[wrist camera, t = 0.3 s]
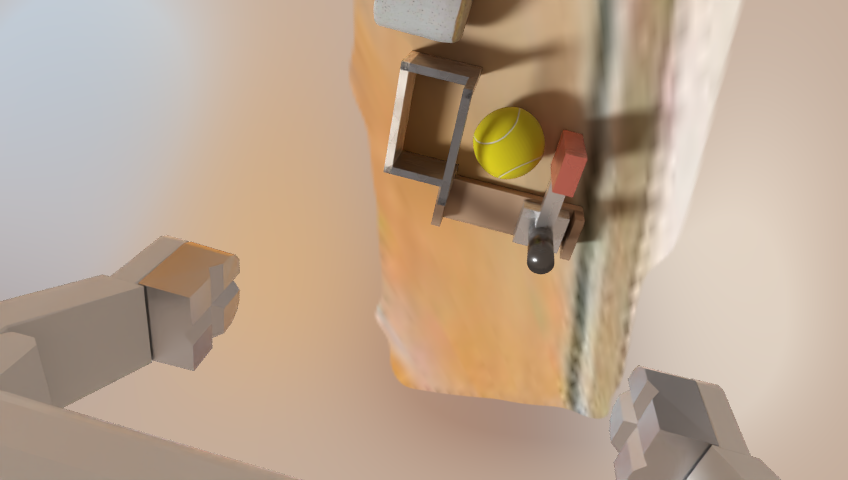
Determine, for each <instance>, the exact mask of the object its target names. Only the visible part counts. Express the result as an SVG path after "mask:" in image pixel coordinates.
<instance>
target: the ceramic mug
mask: <svg viewBox="0 0 848 480" xmlns="http://www.w3.org/2000/svg"><path fill="white" fill-rule="evenodd" d="M472 1H473V0H375V2H374V20H375V22H376V24H378V25H379V26H383V27H387V28H391V29H394V30H398V31H401V32H405V33H409V34H413V35H417V36H421V37H424V38H428V39H431V40H434V41H438V42H446V43H455V42H457V41H459V40H460V39H461V37H462V35H463V32H464V28H465V25H466V22H467V18H468V15H469V12H470V8H471V5H472Z"/></svg>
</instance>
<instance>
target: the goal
mask: <svg viewBox="0 0 848 480" xmlns="http://www.w3.org/2000/svg"><path fill="white" fill-rule="evenodd" d="M481 71H482V67H479V66H474V65H470V64H466V63H462V62H458V61H454V60H450V59H445V58H441V57H437V56H433V55H429V54H425V53H421V52H417V51H412V52H411V53H409V54H408V55H407V56H406V57H405V58H404V59H403V60H402V62H401V68H400V75H399V81H398V87H397V93H396V99H395V105H394V112H393V118H392V124H391V130H390V136H389V142H388V149H387V155H386V161H385V167H384V172H386V173H389V174H393V175H397V176H401V177H405V178H409V179H413V180H417V181H421V182H424V183H428V184H432V185H436V186H440V187H441V190H440V194H439V198H438V203H437V204H438V205H442V206H445V205H446V202H447V199H448V196H449V193H450V190H451V187H452V185H453V182H454V179H455V176H456V173H457V170H458V165H459V164H456V160H457V156H458V152H459V148H460V144H461V139H462V135H463V131H464V127H465V123H466V119H467V114H468V110H469V106H470V102H471V98H472V95H473V92H474V90H475V88H476V85H477V83H478V80H479V78H480V75H481ZM416 73H417V74H421V75H425V76H429V77H433V78H437V79H442V80H446V81H450V82H454V83H458V84H462V85H465V87H464V90H463V94H462V98H461V103H460V107H459V111H458V116H457V120H456V124H455V129H454V133H453V137H452V142H451V146H450V151H449V155H448V159H447V161H444V160H440V159H436V158H432V157H428V156H424V155H420V154H416V153H412V152H408V151H404V150H403V146H404V140H405V134H406V129H407V123H408V118H409V112H410V107H411V101H412V95H413V90H414V84H415V79H416Z"/></svg>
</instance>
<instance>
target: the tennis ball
mask: <svg viewBox="0 0 848 480" xmlns="http://www.w3.org/2000/svg"><path fill="white" fill-rule="evenodd" d="M473 147H474V152H475V156H476V158H477V160H478V162H479V163H480V165H481V166H482V167H483V169H484V170H485V171H487V172H488V173H489V174H491V175H492V176H494V177H497V178H500V179H513V178H517V177H520V176H523V175H525V174H526V173H528V172H530V171H531V170H532V169H533V168H534V167H535V166H536V165H537V164H538V163H539V161H540V160H541V158H542V156H543V153H544V148H545V139H544V134H543V131H542V128H541V126H540V124H539V122H538V121H537V120H536V119H535V117H534V116H533V115H531V114H530V113H529V112H527V111H526V110H524V109H522V108H518V107H505V108H501V109H498V110H496V111H493V112H492V113H490V114H489V115H487V116H486V117H485V118H484V119H483V120H482V121H481V122H480V124H479V125H478V127H477V128H476V130H475V132H474V137H473Z"/></svg>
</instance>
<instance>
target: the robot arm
mask: <svg viewBox="0 0 848 480" xmlns="http://www.w3.org/2000/svg"><path fill="white" fill-rule="evenodd" d="M239 272H240V267H239V258H238V257H237V256H236V255H234V254H231V253H227V252H224V251H221V250H217V249H214V248H211V247H207V246H204V245H200V244H197V243H194V242H189V241H186V240H182V239H179V238H176V237H172V236H169V235H167V236H161V237H159V238H158V239H157V240H155V241H154V242H153V243H152V244H150V245H149V246H148V247H147V248H145V249H144V250H143V251H142V252H140V253H139V254H138V255H137V256H136V257H134V258H133V259H131V260H130V261H129V262H128V263H126V264H125V265H124V266H123V267H121V268H120V269H119V270H117V271H116V272H115V273H114V274H113V275H111V276H110V277H109V276H106V275H99V276H95V277H91V278H87V279H84V280H80V281H76V282H72V283H68V284H64V285H61V286H57V287H53V288H49V289H45V290H42V291H38V292H34V293H30V294H26V295H22V296H19V297H15V298H11V299H7V300H3V301H0V480H302V479H299V478H295V477H292V476H288V475H285V474H282V473H279V472H275V471H271V470H269V469H265V468H262V467H258V466H255V465H252V464H248V463H245V462H242V461H238V460H235V459H231V458H228V457H225V456H222V455H218V454H215V453H211V452H208V451H205V450H201V449H198V448H194V447H191V446H188V445H184V444H181V443H178V442H174V441H171V440H167V439H164V438H161V437H158V436H154V435H151V434H147V433H144V432H141V431H137V430H134V429H131V428H127V427H124V426H121V425H117V424H114V423H111V422H107V421H104V420H101V419H97V418H94V417H90V416H87V415H83V414H80V413H77V412H74V411H70V410H67V409H64V407H65V406H68V405H69V404H71V403H73V402H75V401H77V400H79V399H81V398H83V397H85V396H87V395H89V394H91V393H93V392H95V391H97V390H99V389H101V388H103V387H105V386H107V385H109V384H111V383H113V382H115V381H117V380H118V379H120V378H122V377H124V376H126V375H128V374H130V373H132V372H134V371H136V370H138V369H140V368H142V367H144V366H146V365H148V364H150V363H152V360H153V361H157V362H161V363H165V364H169V365H173V366H177V367H181V368H184V369H188V370H192V371H194V370H195V369H196V368H197V366H198V365H199V364H200V363H201V361H202V360H203V359H204V358H205V356H206V355H207V354H208V353H209V351H210V350H211V349H212V338H213V337H216V336H218V335H220V334H223V333H224V332H225V331H226V330H227V328H228V327H229V326H230V324H231V323H232V321H233V319H234V316H235V314H236V312H237V309H238V304H239V292H240V290H239V289H238V287H237V285H236V284H235V282H234V281H233V280H234V278H235V277H236V276H237V275H238V274H239ZM628 382H629V387H630V390H629V391H627V392H625V393H623V394H620V395H619V396H618V398H617V400H616V403H615V404H614V406H613V409H612V413H611V418H610V430H609V432H610V440H611V443H612V445H613V446H614V447H615V448H616V450H617V451H618V452H619V454H618V456H617V458H616V459H615V461H614V467H615V474H616V480H781V479H780V478H779V477H778V476H777V475H776V474H775V473H774V472H773V471H772V470H771V469H770V468H769V467H767V465H766V464H764V462H763V461H762V460H760V459H759V458H756V457H753V456H751V455H750V453H749V450H748V448H747V446H746V443H745V441H744V438H743V436H742V434H741V432H740V429H739V426H738V424H737V422H736V419H735V417H734V415H733V412H732V410H731V407H730V405H729V402H728V400H727V398H726V395H725V393H724V391H723V389H722V388H721V387H720V386H718V385H716V384H712V383H708V382H703V381H700V380H695V379H688V378H684V377H681V376H677V375H673V374H670V373H666V372H662V371H659V370H655V369H651V368H647V367H644V366H640V365H638V366H637V367H636V368H635V369H634V370H633V372H632V373H631V375H630V377H629V378H628Z"/></svg>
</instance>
